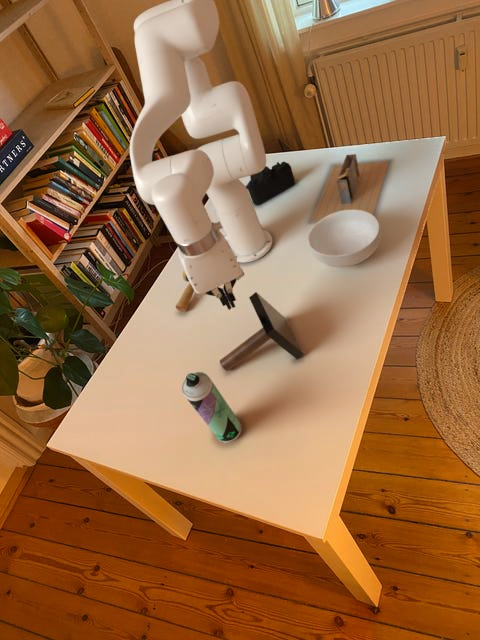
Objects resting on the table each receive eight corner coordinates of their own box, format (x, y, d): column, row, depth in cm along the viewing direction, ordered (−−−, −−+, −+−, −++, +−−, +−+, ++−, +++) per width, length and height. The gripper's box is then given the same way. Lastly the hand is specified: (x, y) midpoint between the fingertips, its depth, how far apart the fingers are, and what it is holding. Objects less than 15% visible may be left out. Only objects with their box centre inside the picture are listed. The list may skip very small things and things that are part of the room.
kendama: (200, 316, 125) (225, 260, 132) (185, 303, 121) (212, 245, 128) (179, 316, 130) (204, 261, 137) (164, 303, 126) (191, 247, 133)
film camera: (284, 171, 152) (276, 146, 146) (298, 184, 146) (291, 158, 139) (242, 195, 152) (232, 171, 145) (255, 209, 145) (245, 184, 138)
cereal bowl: (385, 227, 122) (382, 205, 117) (380, 276, 112) (376, 253, 107) (319, 233, 128) (313, 212, 123) (308, 279, 119) (301, 258, 114)
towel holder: (285, 319, 113) (271, 284, 105) (305, 356, 105) (291, 321, 96) (217, 351, 114) (198, 319, 105) (231, 390, 105) (211, 358, 97)
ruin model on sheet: (372, 220, 125) (366, 189, 118) (311, 221, 133) (303, 192, 126) (389, 161, 138) (385, 130, 131) (333, 165, 146) (327, 136, 139)
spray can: (215, 422, 101) (175, 368, 87) (240, 415, 100) (204, 360, 86) (217, 445, 98) (175, 394, 84) (242, 439, 97) (205, 385, 82)
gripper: (228, 211, 92) (257, 278, 105) (157, 245, 93) (194, 308, 105) (239, 231, 87) (268, 300, 100) (163, 267, 87) (202, 331, 100)
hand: (230, 304), depth 102 cm, fingers closed
